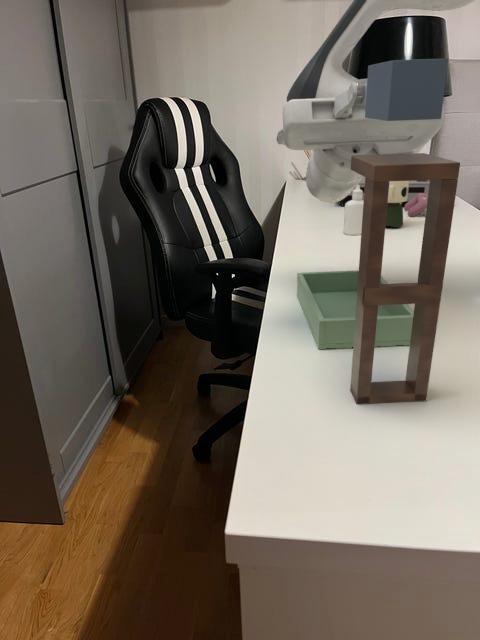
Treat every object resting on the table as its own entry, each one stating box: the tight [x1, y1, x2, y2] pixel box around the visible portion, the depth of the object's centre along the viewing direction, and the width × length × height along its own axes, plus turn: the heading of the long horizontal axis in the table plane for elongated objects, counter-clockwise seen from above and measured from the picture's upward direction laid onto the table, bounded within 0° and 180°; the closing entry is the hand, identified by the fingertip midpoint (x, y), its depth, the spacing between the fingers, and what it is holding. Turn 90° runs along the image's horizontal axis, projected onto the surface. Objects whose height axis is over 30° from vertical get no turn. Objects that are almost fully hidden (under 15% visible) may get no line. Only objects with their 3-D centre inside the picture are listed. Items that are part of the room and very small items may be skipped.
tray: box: [296, 269, 414, 350], centre depth 78 cm, size 14×21×4 cm, turn 2°
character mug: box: [385, 181, 409, 228], centre depth 130 cm, size 11×7×13 cm, turn 157°
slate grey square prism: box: [357, 58, 449, 121], centre depth 53 cm, size 5×16×5 cm, turn 2°
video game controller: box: [403, 193, 428, 217], centre depth 144 cm, size 10×5×7 cm, turn 170°
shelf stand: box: [349, 152, 461, 405], centre depth 55 cm, size 8×9×26 cm
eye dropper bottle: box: [342, 185, 364, 236], centre depth 124 cm, size 4×6×12 cm
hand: (377, 87), depth 57 cm, fingers closed on slate grey square prism, 3 cm apart
